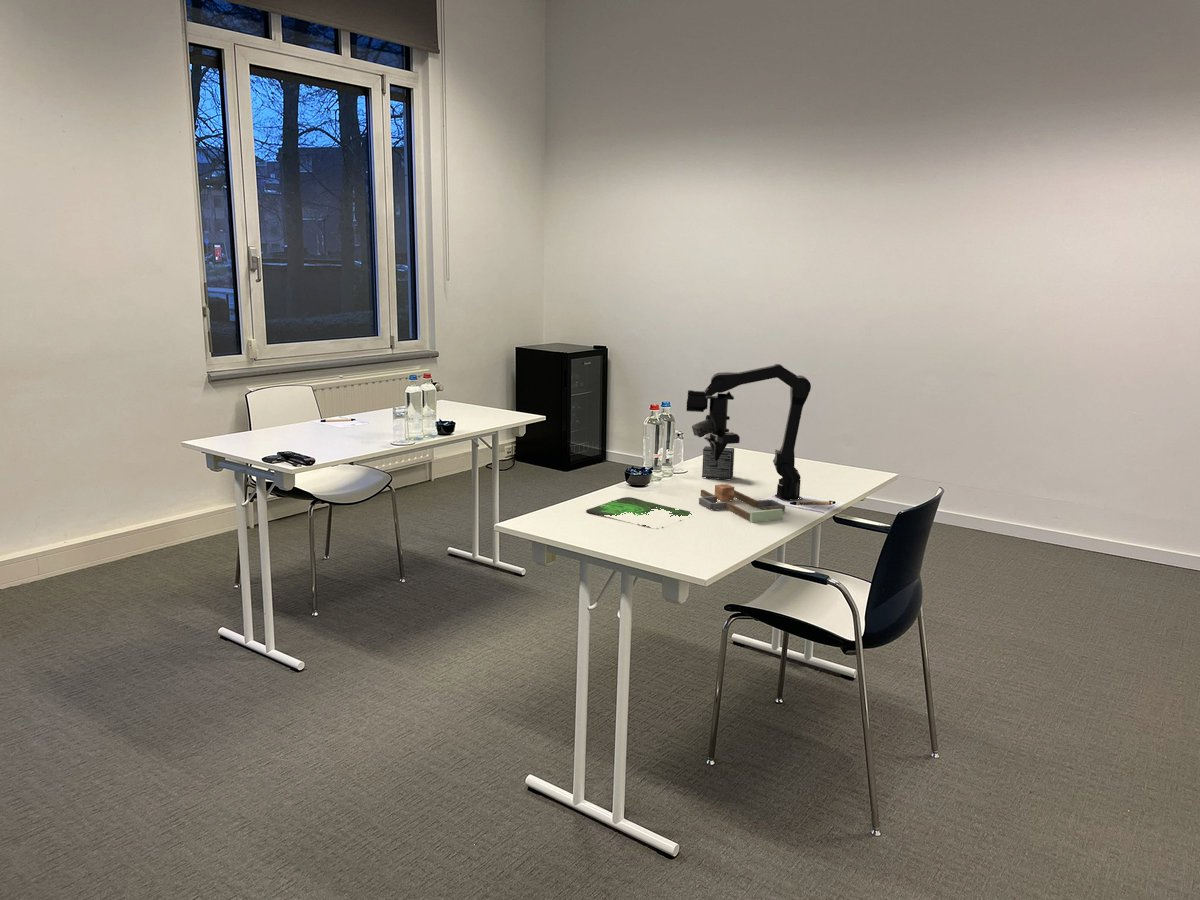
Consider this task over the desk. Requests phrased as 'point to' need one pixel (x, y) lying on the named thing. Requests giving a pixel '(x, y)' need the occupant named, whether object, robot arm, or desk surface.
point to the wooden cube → (724, 492)
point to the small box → (718, 464)
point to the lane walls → (734, 508)
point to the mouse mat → (632, 508)
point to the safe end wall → (766, 515)
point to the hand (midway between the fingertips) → (715, 460)
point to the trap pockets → (710, 504)
